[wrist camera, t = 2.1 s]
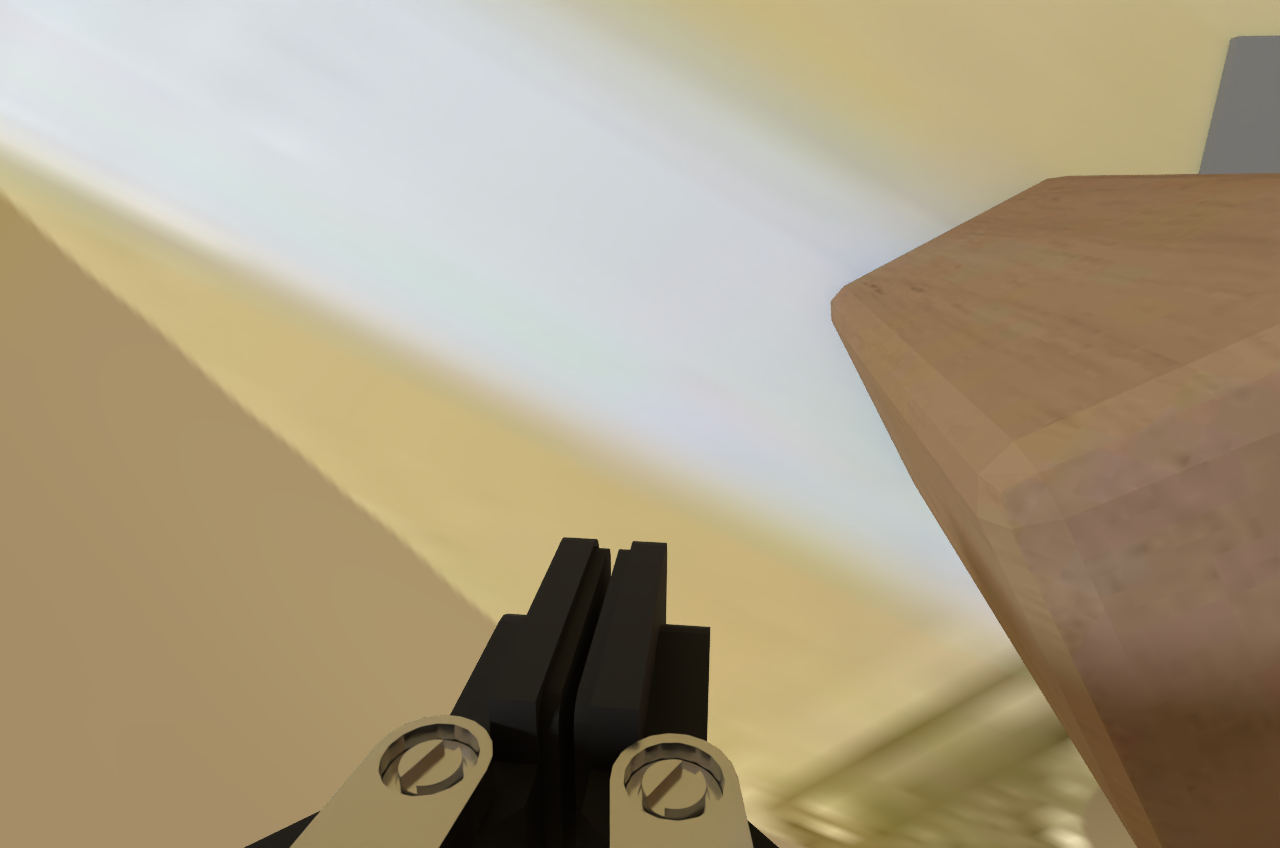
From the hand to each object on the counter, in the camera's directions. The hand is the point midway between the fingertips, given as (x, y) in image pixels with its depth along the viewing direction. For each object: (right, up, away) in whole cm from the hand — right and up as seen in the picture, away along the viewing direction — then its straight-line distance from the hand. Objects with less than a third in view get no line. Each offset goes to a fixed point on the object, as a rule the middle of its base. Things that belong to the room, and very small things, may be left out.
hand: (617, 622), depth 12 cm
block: (+14, +7, +18) cm, 24 cm away
